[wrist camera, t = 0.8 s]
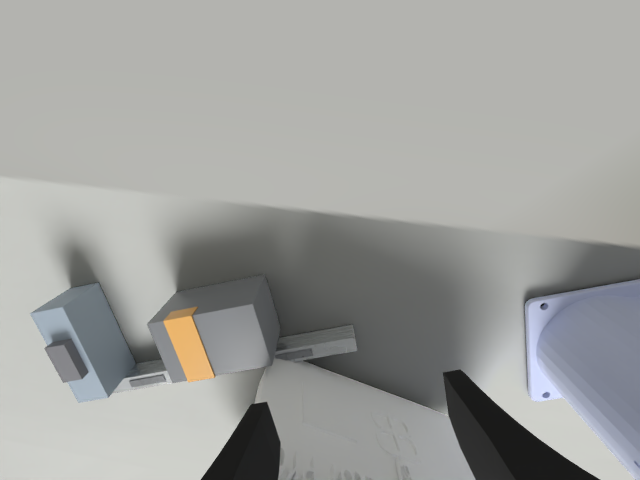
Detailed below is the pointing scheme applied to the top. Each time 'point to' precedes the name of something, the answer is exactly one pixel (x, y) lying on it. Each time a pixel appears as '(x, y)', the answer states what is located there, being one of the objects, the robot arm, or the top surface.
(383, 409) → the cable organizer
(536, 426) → the top surface
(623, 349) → the robot arm
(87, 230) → the top surface
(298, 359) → the rail
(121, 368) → the end clamp
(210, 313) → the module
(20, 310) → the top surface
